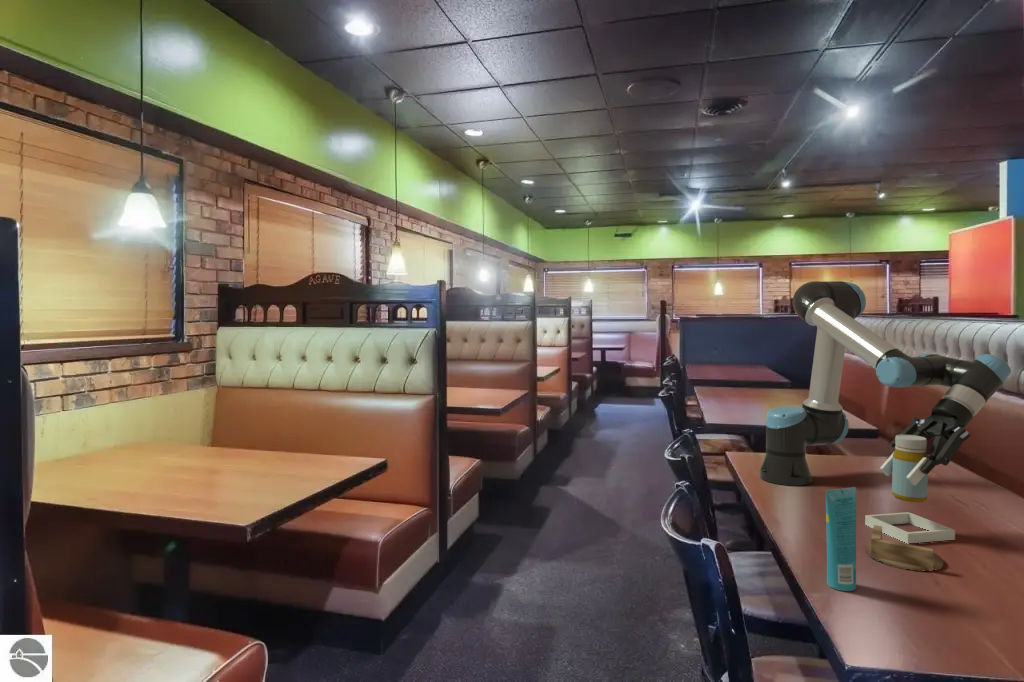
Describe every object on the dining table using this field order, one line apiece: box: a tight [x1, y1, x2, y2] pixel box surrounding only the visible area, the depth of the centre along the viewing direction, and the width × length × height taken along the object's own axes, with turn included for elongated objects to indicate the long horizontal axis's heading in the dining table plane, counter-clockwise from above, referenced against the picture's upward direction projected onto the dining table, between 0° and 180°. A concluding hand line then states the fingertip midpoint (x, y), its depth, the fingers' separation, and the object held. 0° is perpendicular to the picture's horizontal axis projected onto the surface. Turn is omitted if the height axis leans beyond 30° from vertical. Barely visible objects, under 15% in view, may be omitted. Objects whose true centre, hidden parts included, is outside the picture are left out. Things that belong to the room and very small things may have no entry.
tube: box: [825, 486, 857, 592], centre depth 109 cm, size 7×5×19 cm, turn 112°
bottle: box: [891, 434, 929, 503], centre depth 136 cm, size 7×7×15 cm
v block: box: [864, 525, 944, 572], centre depth 122 cm, size 14×15×4 cm
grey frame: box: [864, 511, 956, 545], centre depth 136 cm, size 13×13×2 cm
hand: (897, 476), depth 135 cm, fingers closed on bottle, 7 cm apart
